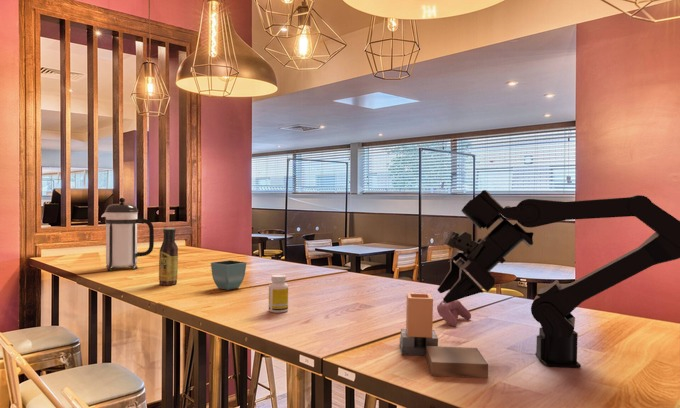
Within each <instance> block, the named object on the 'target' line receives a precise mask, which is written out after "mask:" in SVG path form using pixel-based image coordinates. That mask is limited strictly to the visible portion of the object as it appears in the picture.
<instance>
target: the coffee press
mask: <svg viewBox="0 0 680 408" xmlns="http://www.w3.org/2000/svg"><path fill="white" fill-rule="evenodd" d="M125 201H126V200H125V198H123V197H120V198H119V200H118V202H119V203H112V204H109V205H107V207H106V209H105V210H104V213H102V215H101V218H105V222H104V223H105V264H106V266H105V267H106V268H107V269H106V270H107V272H113V270H114V269H115V268H125V267H130V268H131V269H132V270H133V271H134V270H138V269H139V268H138V267H139V266H138V265H137V263H138V258H139V257H145V256H148V255H150V254H151V253H152V252H153V249H154V244H155V237H154V236H155V231H154V225H153V223H152V222H151V221H150V220H149V219H146V218H138V213H139V209H138V208H137V206H136V205H134V204H130V203H125ZM139 223H142V224H146V225H147V226H148V230H149V232H148V236H149V237H148V241H149V242H148V245H149V246H148V248H147V250H146V251H142V252H138V224H139Z"/></svg>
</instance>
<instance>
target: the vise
mask: <svg viewBox="0 0 680 408" xmlns="http://www.w3.org/2000/svg"><path fill="white" fill-rule="evenodd" d="M426 346H439V337H438V335H437V333H436V331H435V329H432V337H408V335H407V331H406V328H400V337H399V348H400V353H401V356H419V357H420V356H423V357H424V356H425V357H426Z"/></svg>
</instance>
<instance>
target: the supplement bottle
mask: <svg viewBox="0 0 680 408" xmlns="http://www.w3.org/2000/svg"><path fill="white" fill-rule="evenodd" d="M286 280H287V275H285V274H274V275H271V283H269V284H268V311H269V312H270V313H275V314H276V313H277V314H278V313H279V314H280V313H286V312H287V311H288V310H289V285H288V283H286Z"/></svg>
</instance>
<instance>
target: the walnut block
mask: <svg viewBox="0 0 680 408" xmlns="http://www.w3.org/2000/svg"><path fill="white" fill-rule="evenodd" d="M425 359H426V363H427V365H428V368H429V369H428V370H429V371H430V375H431V376H433V377H452V378H453V377H454V378H455V377H456V378H478V379H479V378H480V379H481V378H482V379H489V376H488V375H489V364H488V362H487V361H486V359H485V357H484V356H483V354H482V353H481V352H480V350H479V348H478V347H464V346H439V345H438V346H426V356H425Z"/></svg>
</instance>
